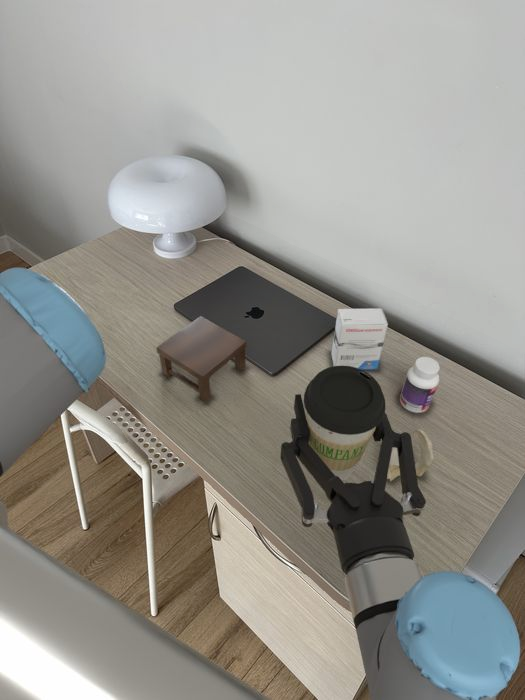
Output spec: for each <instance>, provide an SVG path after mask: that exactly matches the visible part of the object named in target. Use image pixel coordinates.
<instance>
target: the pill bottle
mask: <svg viewBox="0 0 525 700" xmlns="http://www.w3.org/2000/svg"><path fill="white" fill-rule="evenodd" d="M439 371H440V364H439V362H438V361H437V360H435V359H434V358H432V357H429V356H421V357H419V358H417V359H416V360H415V362H414V365H412V366H411V367H409V369H408V371H407V373H406V376H405V380H404V382H403V386H402V389H401V393H400V394H399V402H400V404H401V406H402V407H403V408H404V409H405V410H406V411H409V412H412V413H415V414H418V413H419V414H420V413H424V412H426V411H428V409H429V407H430V406H431V404H432V401H433V398H434V396H435V393H436V391H437V389H438V385H439V383H440V375H439Z"/></svg>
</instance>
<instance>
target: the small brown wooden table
mask: <svg viewBox="0 0 525 700" xmlns="http://www.w3.org/2000/svg"><path fill="white" fill-rule="evenodd" d="M246 348H247V341H246V340H244V339H243V338H241V337H239V336H237V335H236V334H234V333H232V332H230V331H228V330H227V329H225V328H223V327H221V326H220V325H218V324H216V323H214V322H213V321H212V320H209V319H207V318H205V317H204V316H202V315H200V316H199V317H197V318H196V319H195V320H193V321H192V322H190V323H189V324H187V325H186V326H185V327H183V328H181V329H180V330H179V331H177V332H176V333H175V334H173V335H172V336H171V337H169V338H167V339H166V340H164V342H162V343H160V344H159V345H157V346H156V353H157V354H158V355H159V360H160V367H161V372H162V375H164V377H167V378H169V377H170V376H173V377H175V378H176V379H177V380H179V381H181V382H182V383H183V384H185V385H187V386H188V387H190V388H191V389H193V390H195V391H196V392H197V393H198V394H199V399H200V400H201V401H203V402H204V403H206V402H208V401H209V400H211V397H212V396H211V387H210V378H211V377H212V376H213V375H214V374H215V373H217V372H218V371H219V370H220V369H221V368H223V367H224V366H225V365H226V364H228V363H229V362H231V363H234V367H235V370H236V371H238V372H240V373H242V372H243V371H244V370H245V369H246ZM172 364H174V365H175V366H177V367H179V368H180V369H182V370H183V371H185V372H187V373H188V374H190V375H191V376H193V378H196V379H197V383H196V382H194V381H193V380H191V379H190V378H188V377H187V376H186V375H184V374H183V373H181V372H179V371H178V370H176V369H174V368H173V365H172Z"/></svg>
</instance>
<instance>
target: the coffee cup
mask: <svg viewBox="0 0 525 700" xmlns="http://www.w3.org/2000/svg"><path fill="white" fill-rule="evenodd" d="M309 381H310V382H308V384H307V386H306V388H305V391H304V394H303V406H304V409H305V412H306V420H307V424H308V429H309V433H310V436H309V443H308V444H309V445H310V446H311V447H312V448H313V450H314V451H315V452H316V453H317V454H318V456H319V457H320V458H321V459H322V460H323V462H324V463H325V464H326V465H327V466H328V468H329V469H330V470H331V471H332V472H333V474H334V475H335V476H338V477H339V478H340V479H341V480H342V481H343V482H344V481H345V480H348V478H350V477H351V476H352V474H353V471H354V470H355V468H356V467H357V464H358V463H359V462H360V461H361V459H362V457H363V454H364V453H365V452H366V449H367V447H368V445H369V442H370V441H371V439H372V438H373V433H374V431H375V429H376V426H377V425H378V424H379V423H380V422H381V421H382V419H383V417H384V415H385V413H386V408H387V407H386V406H387V405H386V398H385V395H384V393H383V390H382V387H381V385H380V384H379V382H378V380H376V378H375V377H374V376H372V375H371V374H369V373H368V372H367V371H364V370H361V369H358V368H355V367H351V366H334V365H332V366H329V367H326V368H324V369H322V370H320V371H319V372H318V373H317V374H316V375H315V376H314V377H313V378H312V379H311V380H309Z"/></svg>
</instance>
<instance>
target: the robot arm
mask: <svg viewBox="0 0 525 700" xmlns="http://www.w3.org/2000/svg"><path fill="white" fill-rule="evenodd" d="M103 341H104V340H103V339H102V337H101V335H100V333H99V331H98V328H97V327H96V325H95V324H94V322H93V321H92V319H91V318H90V317H89V315H88V314H87V313H86V312H85V310H84V309H83V308H82V307H81V306H80V304H79V303H78V302H77V301H76V300H75V299H74V298H73V297H72V296H71V295H70V294H69V293H68V292H67V291H65V289H63V288H62V287H61V286H60V285H58V284H57V283H56V282H53V281H52V280H50V279H49V278H47V277H46V276H45V275H43V274H42V273H40V272H37V271H34V270H32V269H30V268H25V267H11V268H7V269H5V270H3V271H2V272H0V478H1V477H2V476H3V475H4V474H5V473H6V472H7V471H8V470H9V469H10V468H11V467H12V466H13V465H14V464H15V463H16V462H17V461H18V459H20V458H21V456H22V455H23V454H24V453H25V452H26V451H27V450H28V449H29V448H30V447H31V446H32V445H33V444H34V443H35V442H36V441H37V440H38V439H39V438H40V437H41V436H42V435H43V434H44V433H45V432H46V431H47V430H48V429H49V428H50V427H51V426H52V425H53V424H54V423H55V422H56V421H57V420H58V419H59V418H60V417H61V416H62V415H63V414H64V413H65V412H66V411H67V410H68V409H69V408H70V407H71V406H72V405H73V404H74V403H75V401H78V399H79V398H80V397H81V396H82V394H83V393H85V394H86V393H88V392H90V388H91V387H92V385H93V384H95V381H96V380H97V379H98V378H99V377H100V376H101V374H102V373H103V371H104V369H105V367H106V362H107V354H106V350H105V345H104V342H103ZM293 410H294V414H295V418H291V420H290V425H289V430H290V435H291V441H290V442H288V441H284V442H283V443H281V445H280V454H279V455H280V461H281V463H282V466H283V468H284V470H285V473H286V476H287V478H288V480H289V482H290V485H291V487H292V490H293V492H294V494H295V496H296V499H297V501H298V504H299V506H300V508H301V509H300V510H301V513H300V514H301V523H302V526H303V527H305V528H310V527H312V526H313V524H326V525H327V527H329V529H330V530H331V532H332V534H333V537H334V543H335V547H336V551H337V554H338V559H339V564H340V568H341V571H342V573H343V574H344V575H345V577H344V580H343V581H344V582H343V583H344V586H345V591H346V595H347V599H348V603H349V607H350V608H349V609H350V612H351V616H352V621H353V624H354V628H355V633H356V637H357V641H358V642H357V643H358V646H359V650H360V655H361V661H362V664H363V669H364V673H365V674H364V675H365V679H366V684H367V687H368V692H369V698H370V700H497V696H499V693H500V692H502V691H503V690H504V689H505V688H506V687H508V683H509V681H510V680H511V679H512V676H513V674H514V673H515V672H516V670H517V668H518V665H519V663H520V657H521V641H520V635H519V632H518V628H517V625H516V623H515V620H514V617H513V616H512V614H511V612H510V610H509V609H508V607H507V606H506V605H505V603H504V601H503V600H502V599H501V598H500V597H499V595H498V594H496V592H494V590H492V589H491V588H489V586H487V585H486V584H484V583H483V582H481V581H480V580H478V579H477V578H474V577H472V576H471V575H469V574H465V573H462V572H459V571H455V570H454V571H452V570H440V571H439V570H437V571H433V572H431V573H428V574H426V575H424V576H422V572H421V569H420V566H419V564H418V562H417V561H415V560H414V558H415V552H414V549H413V546H412V543H411V540H410V536H409V534H408V532H407V528H406V526H405V523H404V520H403V519H404V518H403V516H407V515H412V516H414V517H419V516H420V515H421V513H422V511H423V510H424V508H425V506H426V503H427V501H426V498H425V496H424V494H423V492H422V490H421V489H420V487H419V481H418V476H417V475H416V468H415V463H416V462H415V456H414V454H415V453H414V449H413V440H412V436H411V434H410V433H409V432H406V431H404V432H401V433H400V432H399V433H398V432H395V430H393V429H392V426H391V423H390V420H389V418H388V415H387V413H386V412H385V415H384V417H383V419H382V421H381V422H380V423H379V424H378V425H377V426H376V429H375V431H374V433H373V435H372V438H373V441H374V442H381V443H382V444H380V449H379V454H378V459H377V463H376V468H375V472H374V477H373V482H372V480H364V481H362V482H358V483H356V482H344V480H343V481H342V480H341V479H340V478H339V477H338V476H335V475H334V474H333V472H332V471H331V470H330V469H329V468H328V466H327V465H326V464H325V463H324V462H323V460H322V459H321V458H320V457H319V456H318V454H317V453H316V452H315V451H314V450H313V448H312V447H311V446H310V445H309V444H308V443H309V436H310V433H309V429H308V424H307V414H306V410H305V405H304V401H303V398H302V394H301V393H297V394H294V403H293ZM393 447H395V448H397V452H398V460H399V469H400V475H399V477H400V485H401V493H402V496H401V498H400V502H399V501H398V500H397V499H395V498H394V497H393V496H392V495H391V494H389V493H388V492H387V491H386V486H387V481H388V479H387V474H388V469H389V463H390V458H391V453H392V448H393ZM299 461H300V462H299ZM300 463H301V464H302V465H303V466H304V468H305V469H306V471H307V472H308V473H309V474H310V475H311V476H312V478H313V479H314V480H315V482H316V483H317V484H318V485H319V487H320V488H321V489H322V490H323V492H324V493H325V496H326V498H327V500H328V501H329V502H330V505H329V507H328V509H327V510H325V509H323V508H322V506H321V504H320V503H319V501H317V500H315V498H314V494H313V492H312V489H311V487H310V483H309V482H308V479H307V478H306V475H305V474H304V471H303V469H302V467H301V464H300ZM8 515H9V514H8V506H7V505H6V503H5V502H3V501H2V500H1V499H0V700H272V698H270V697H268V695H265V694H264V693H262V692H261V691H259V690H257V689H256V688H255V687H254V686H252V685H250V684H248V683H247V682H246V681H243V680H242V679H241V678H239V677H238V676H236V675H235V674H233V673H232V672H230V671H229V670H227V669H225V668H224V667H223V666H221V665H219V664H218V663H216V662H215V661H213V660H212V659H210V658H209V657H207V656H206V655H204V654H202V653H201V652H200V651H198V650H196V649H195V648H194V647H192V646H190V645H189V644H187V643H186V642H184V641H182V640H181V639H180V638H179V637H177V636H175V635H173V634H172V633H171V632H169V631H168V630H166V629H165V628H163V627H161V626H160V625H158V624H157V623H155V622H154V621H153V620H151V619H149V618H148V617H146V616H145V615H143V614H142V613H140V612H138V611H137V610H136V609H134V608H132V607H131V606H130V605H128V604H126V603H125V602H123V601H122V600H120V599H119V598H117V597H115V595H112V594H111V593H110V592H108V591H106V590H105V589H104V588H102V587H100V586H99V585H97V584H96V583H95V582H92V580H89V579H88V578H87V577H86V576H83V575H82V574H81V573H79V572H77V571H76V570H74V569H73V568H72V567H70V566H68V565H66V564H65V563H64V562H62V561H60V560H59V559H58V558H56V557H54V556H53V555H52V554H50V553H48V552H47V551H46V550H44V549H42V548H40V547H39V546H38V545H36V544H34V543H33V542H32V541H30V540H28V539H27V538H25V537H24V536H22V535H21V534H19V533H18V532H17V531H14V530H13V529H12V528H10V526H9V518H8Z"/></svg>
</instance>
